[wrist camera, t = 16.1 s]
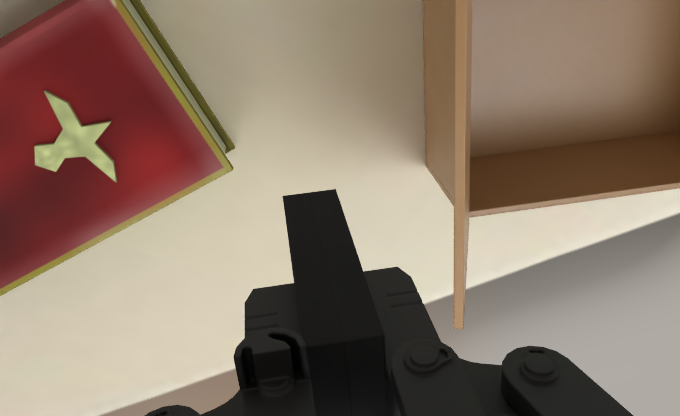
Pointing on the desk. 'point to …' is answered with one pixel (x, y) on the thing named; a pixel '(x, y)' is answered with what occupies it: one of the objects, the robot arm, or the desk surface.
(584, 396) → the robot arm
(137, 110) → the hardcover book
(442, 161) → the carton
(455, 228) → the flap
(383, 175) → the desk surface
